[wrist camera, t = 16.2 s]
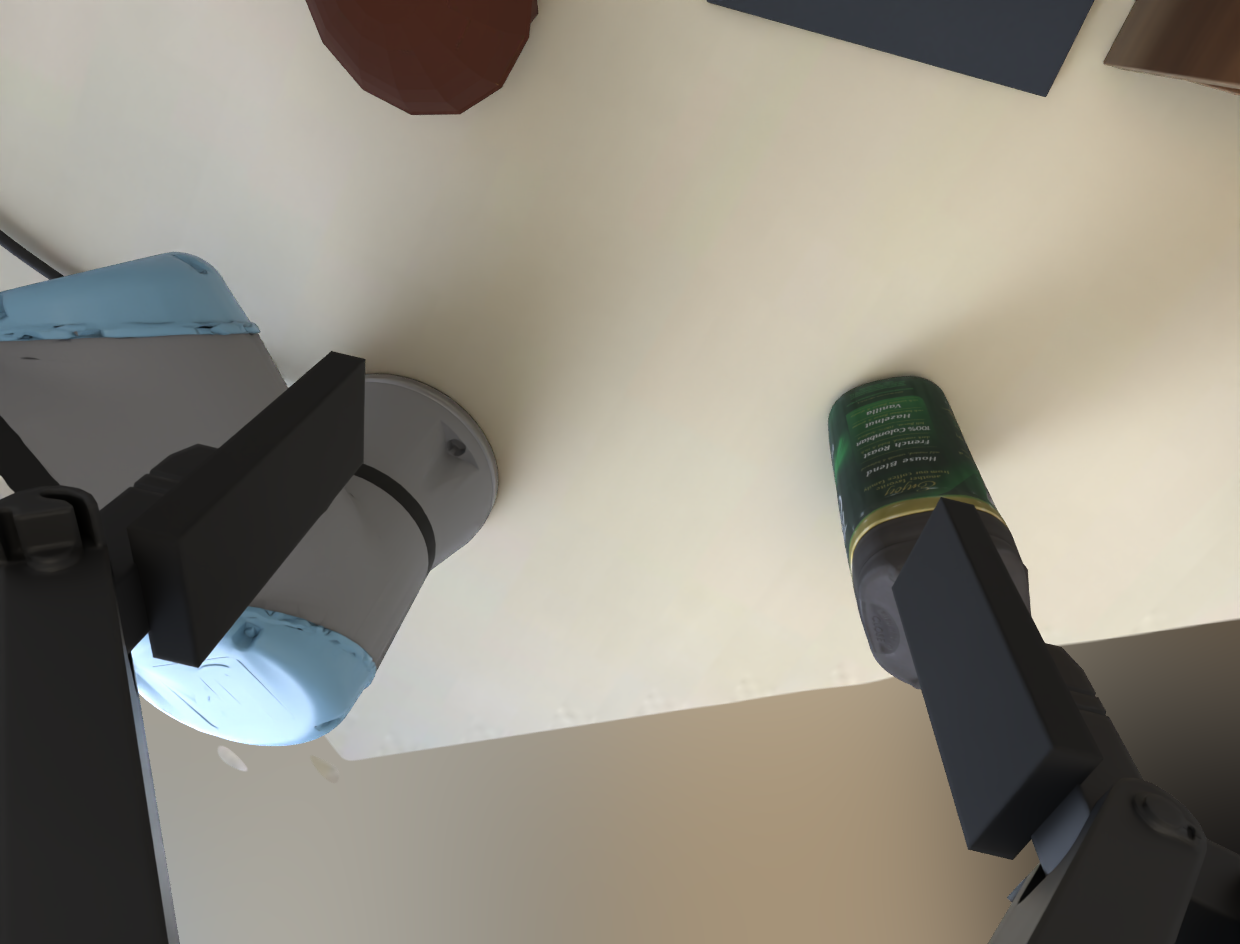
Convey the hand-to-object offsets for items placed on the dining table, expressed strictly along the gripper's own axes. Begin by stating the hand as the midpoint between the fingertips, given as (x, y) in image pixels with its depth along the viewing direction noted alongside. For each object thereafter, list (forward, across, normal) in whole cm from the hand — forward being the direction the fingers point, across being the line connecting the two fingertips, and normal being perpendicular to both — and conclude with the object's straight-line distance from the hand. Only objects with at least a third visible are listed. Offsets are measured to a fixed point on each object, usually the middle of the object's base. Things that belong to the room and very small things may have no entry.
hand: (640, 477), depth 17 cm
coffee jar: (+31, +17, -12) cm, 38 cm away
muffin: (+32, -15, +8) cm, 36 cm away
